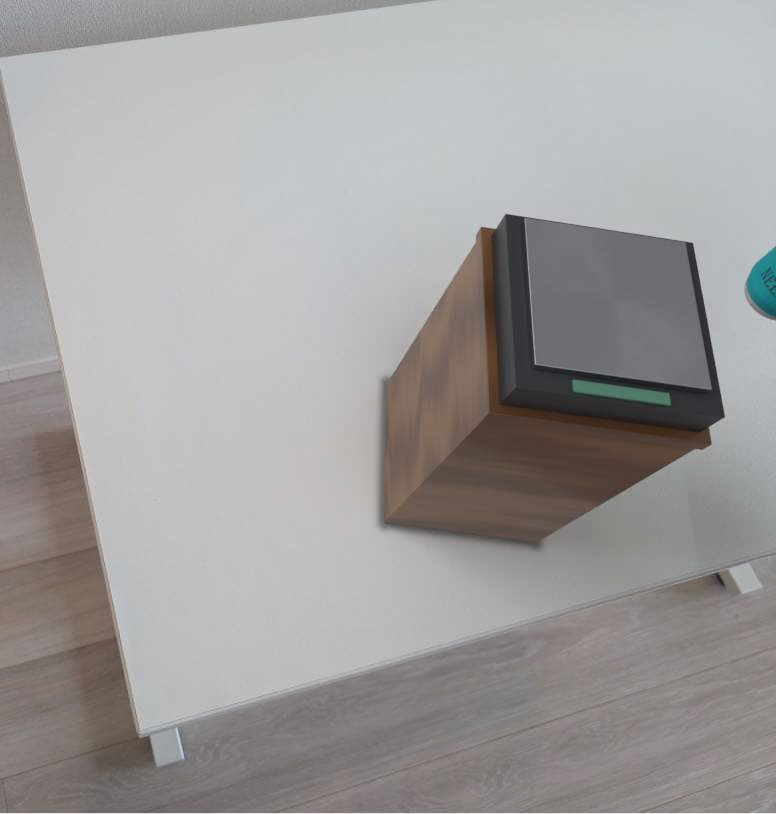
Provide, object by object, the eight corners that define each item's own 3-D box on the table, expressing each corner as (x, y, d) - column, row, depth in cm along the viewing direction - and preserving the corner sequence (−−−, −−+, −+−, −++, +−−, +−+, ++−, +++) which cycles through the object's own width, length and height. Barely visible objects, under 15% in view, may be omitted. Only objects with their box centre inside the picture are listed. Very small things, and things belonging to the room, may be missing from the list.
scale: (700, 432, 50) (732, 413, 47) (499, 404, 49) (520, 383, 46) (671, 263, 55) (699, 236, 53) (491, 235, 55) (509, 207, 52)
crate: (538, 545, 71) (712, 444, 49) (381, 524, 70) (488, 413, 49) (529, 401, 77) (679, 256, 56) (384, 381, 76) (480, 226, 55)
